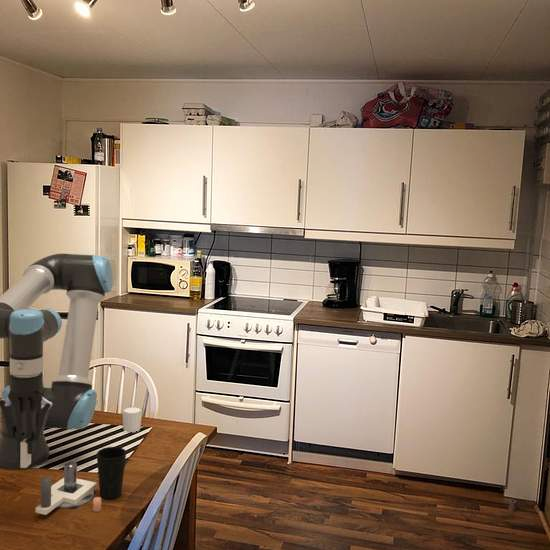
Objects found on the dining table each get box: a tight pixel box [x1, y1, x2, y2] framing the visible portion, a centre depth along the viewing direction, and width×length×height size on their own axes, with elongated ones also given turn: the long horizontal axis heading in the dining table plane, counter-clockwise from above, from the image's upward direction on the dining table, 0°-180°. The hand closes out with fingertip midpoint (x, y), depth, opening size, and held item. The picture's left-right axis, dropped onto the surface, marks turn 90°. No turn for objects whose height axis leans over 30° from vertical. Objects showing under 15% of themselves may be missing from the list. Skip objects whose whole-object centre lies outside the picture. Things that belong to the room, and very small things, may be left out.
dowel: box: [92, 496, 102, 513], centre depth 155 cm, size 2×2×3 cm
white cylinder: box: [121, 406, 143, 433], centre depth 207 cm, size 7×7×7 cm
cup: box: [96, 446, 127, 501], centre depth 162 cm, size 8×8×12 cm
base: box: [56, 461, 95, 509], centre depth 160 cm, size 12×12×9 cm
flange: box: [35, 476, 98, 516], centre depth 157 cm, size 17×10×8 cm, turn 163°
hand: (25, 465), depth 149 cm, fingers closed
